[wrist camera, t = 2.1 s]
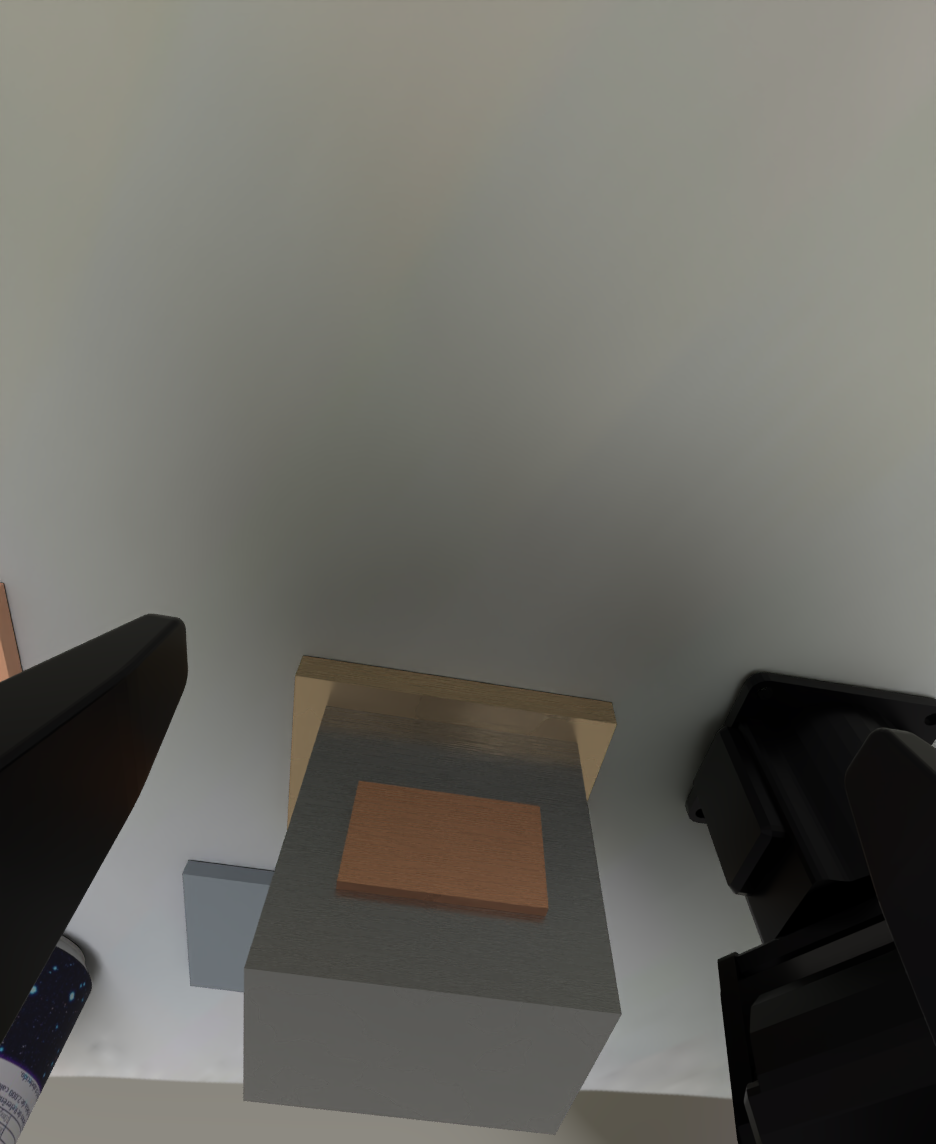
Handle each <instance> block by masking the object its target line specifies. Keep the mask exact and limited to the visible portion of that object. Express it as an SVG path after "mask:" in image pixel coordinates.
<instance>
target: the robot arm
mask: <svg viewBox="0 0 936 1144" xmlns="http://www.w3.org/2000/svg"><path fill="white" fill-rule="evenodd" d="M187 675H188V662H187V642H186V627H185V624H184V622H183V621H182V620H181V619H180V618H178V617H171V616H165V615H158V614H147V615H144V616H141V617H139V618H137V619H135V620H133V621H131V622H128V623H126V624H124V625H122V626H120V627H118V628H115V629H113V630H111V631H109V632H107V633H105V634H103V635H100V636H98V637H96V638H94V639H92V640H90V641H87V642H85V643H83V644H81V645H79V646H77V647H74V648H72V649H70V650H68V651H66V652H64V653H61V654H59V655H57V656H55V657H53V658H51V659H49V660H46V661H44V662H42V663H40V664H38V665H36V666H33V667H31V668H29V669H27V670H25V671H23V672H20V673H18V674H16V675H14V676H12V677H10V678H7V679H5V680H3V681H1V682H0V1045H1V1043H2V1042H3V1040H4V1038H5V1036H6V1034H7V1033H8V1031H9V1029H10V1027H11V1025H12V1024H13V1022H14V1020H15V1018H16V1017H17V1015H18V1013H19V1011H20V1009H21V1008H22V1006H23V1004H24V1002H25V1000H26V999H27V997H28V995H29V993H30V992H31V990H32V988H33V986H34V984H35V983H36V981H37V979H38V977H39V975H40V974H41V972H42V970H43V968H44V967H45V965H46V963H47V961H48V959H49V958H50V956H51V954H52V952H53V950H54V949H55V947H56V945H57V943H58V942H59V940H60V938H61V936H62V934H63V933H64V931H65V929H66V927H67V925H68V924H69V922H70V920H71V918H72V916H73V915H74V913H75V911H76V909H77V908H78V906H79V904H80V902H81V900H82V899H83V897H84V895H85V893H86V891H87V890H88V888H89V886H90V884H91V883H92V881H93V879H94V877H95V875H96V874H97V872H98V870H99V868H100V866H101V865H102V863H103V861H104V859H105V858H106V856H107V854H108V852H109V850H110V849H111V847H112V845H113V843H114V841H115V840H116V838H117V836H118V834H119V832H120V831H121V829H122V827H123V825H124V824H125V822H126V820H127V818H128V816H129V815H130V813H131V811H132V809H133V807H134V805H135V803H136V801H137V799H138V797H139V795H140V793H141V791H142V789H143V786H144V784H145V782H146V780H147V777H148V775H149V773H150V770H151V768H152V765H153V763H154V761H155V758H156V756H157V753H158V751H159V749H160V746H161V744H162V741H163V739H164V737H165V734H166V732H167V729H168V727H169V725H170V722H171V720H172V717H173V715H174V713H175V710H176V708H177V705H178V703H179V701H180V698H181V696H182V693H183V691H184V688H185V685H186V681H187ZM763 687H767V688H766V689H765V690H763V691H758V690H759V689H761V688H763ZM928 715H929V716H928ZM935 739H936V699H932V698H925V697H919V696H913V695H906V694H900V693H893V692H887V691H881V690H874V689H868V688H862V687H855V686H849V685H843V684H836V683H830V682H824V681H817V680H811V679H805V678H798V677H792V676H786V675H779V674H773V673H757V674H754V675H752V676H751V677H749V678H748V679H747V680H746V682H745V683H744V685H743V687H742V689H741V692H740V694H739V696H738V698H737V700H736V702H735V704H734V706H733V708H732V710H731V712H730V714H729V716H728V718H727V720H726V722H725V724H724V726H723V727H722V728H721V729H720V730H719V731H718V732H717V734H716V736H715V738H714V740H713V742H712V744H711V746H710V748H709V750H708V753H707V755H706V757H705V759H704V761H703V763H702V765H701V767H700V769H699V771H698V773H697V775H696V777H695V779H694V781H693V785H694V787H693V789H692V791H691V793H690V795H689V797H688V799H687V801H686V805H685V806H686V809H687V813H688V816H689V818H690V819H691V820H692V821H694V822H698V823H704V824H707V826H708V829H709V832H710V835H711V838H712V840H713V843H714V846H715V849H716V852H717V855H718V858H719V861H720V864H721V866H722V869H723V872H724V875H725V878H726V881H727V884H728V886H729V887H730V888H731V890H732V891H733V893H735V894H738V895H745V897H746V900H747V903H748V906H749V908H750V911H751V914H752V917H753V919H754V922H755V925H756V927H757V930H758V933H759V936H760V938H761V941H762V945H759V946H757V947H755V948H752V949H750V950H748V951H745V952H743V953H741V954H738V953H737V952H733V953H731V954H729V955H726V956H724V957H722V958H720V959H718V970H719V979H720V988H721V993H720V995H721V1004H722V1012H723V1021H724V1030H725V1038H726V1047H727V1056H728V1064H729V1073H730V1081H731V1090H732V1099H733V1107H734V1116H735V1124H736V1133H737V1141H738V1144H936V748H934V747H933V746H931V745H932V744H933V742H934V741H935Z"/></svg>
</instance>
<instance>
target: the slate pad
mask: <svg viewBox="0 0 936 1144" xmlns="http://www.w3.org/2000/svg"><path fill="white" fill-rule="evenodd" d="M273 874H274V871H266V870H258V869H251V868H243V867H235V866H228V865H220V864H213V863H205V862H197V861H190V860H188V863H187V865H186V867H185V869H184V872H183V874H182V875H183V889H184V903H185V917H186V931H187V945H188V960H189V974H190V986H195V987H204V988H212V989H220V990H229V991H237V992H244V967H245V963H246V960H247V957H248V954H249V951H250V947H251V944H252V941H253V938H254V935H255V931H256V928H257V925H258V922H259V919H260V916H261V912H262V909H263V906H264V903H265V900H266V896H267V893H268V890H269V887H270V884H271V880H272V877H273Z"/></svg>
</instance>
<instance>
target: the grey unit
mask: <svg viewBox="0 0 936 1144" xmlns="http://www.w3.org/2000/svg"><path fill="white" fill-rule="evenodd" d="M616 725H617V723H616V718H615V714H614V710H613V706H612V703H611V702H604V701H598V700H591V699H585V698H578V697H571V696H565V695H558V694H552V693H545V692H539V691H532V690H525V689H519V688H512V687H506V686H499V685H493V684H486V683H479V682H473V681H466V680H460V679H453V678H447V677H440V676H433V675H427V674H420V673H414V672H407V671H401V670H394V669H387V668H381V667H374V666H368V665H361V664H355V663H348V662H341V661H335V660H328V659H322V658H315V657H309V656H303V658H302V660H301V663H300V665H299V668H298V670H297V673H296V675H295V690H294V709H293V728H292V747H291V766H290V785H289V804H288V823H287V832H286V836H285V839H284V842H283V845H282V848H281V852H280V855H279V858H278V861H277V864H276V868H275V871H274V874H273V877H272V880H271V884H270V887H269V890H268V893H267V896H266V900H265V903H264V906H263V909H262V912H261V916H260V919H259V922H258V925H257V928H256V931H255V935H254V938H253V941H252V944H251V947H250V951H249V954H248V957H247V960H246V963H245V967H244V1092H243V1094H244V1096H243V1098H244V1099H243V1100H244V1101H251V1102H260V1103H269V1104H278V1105H288V1106H297V1107H306V1108H315V1109H324V1110H334V1111H342V1112H352V1113H361V1114H371V1115H379V1116H388V1117H399V1118H407V1119H416V1120H425V1121H435V1122H443V1123H453V1124H462V1125H471V1126H480V1127H489V1128H499V1129H508V1130H517V1131H526V1132H535V1133H544V1134H553V1135H555V1134H556V1132H557V1130H558V1128H559V1126H560V1125H561V1123H562V1121H563V1119H564V1118H565V1116H566V1114H567V1112H568V1110H569V1109H570V1107H571V1105H572V1103H573V1101H574V1099H575V1097H576V1096H577V1094H578V1092H579V1091H580V1089H581V1087H582V1085H583V1083H584V1081H585V1080H586V1078H587V1076H588V1074H589V1072H590V1071H591V1069H592V1067H593V1065H594V1063H595V1061H596V1060H597V1058H598V1056H599V1054H600V1052H601V1051H602V1049H603V1047H604V1045H605V1043H606V1042H607V1040H608V1038H609V1036H610V1034H611V1032H612V1031H613V1029H614V1027H615V1025H616V1023H617V1022H618V1020H619V1018H620V1016H621V1008H620V1002H619V996H618V990H617V983H616V977H615V971H614V965H613V959H612V953H611V946H610V940H609V934H608V928H607V922H606V916H605V909H604V903H603V897H602V891H601V885H600V879H599V872H598V866H597V860H596V854H595V848H594V842H593V835H592V829H591V823H590V817H589V811H588V805H587V801H588V798H589V796H590V793H591V790H592V788H593V785H594V783H595V780H596V777H597V775H598V772H599V770H600V767H601V764H602V762H603V759H604V756H605V754H606V751H607V749H608V746H609V743H610V741H611V738H612V736H613V733H614V730H615V728H616Z"/></svg>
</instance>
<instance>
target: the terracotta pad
mask: <svg viewBox="0 0 936 1144" xmlns="http://www.w3.org/2000/svg"><path fill="white" fill-rule="evenodd" d="M20 672H22V669H21V664H20V660H19V655H18V650H17V645H16V641H15V636H14V631H13V627H12V622H11V617H10V612H9V608H8V603H7V598H6V594H5V589H4V584H3V583H0V682H1V681H3V680H5V679H7V678H10V677H12V676H14V675H16V674H18V673H20Z"/></svg>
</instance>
